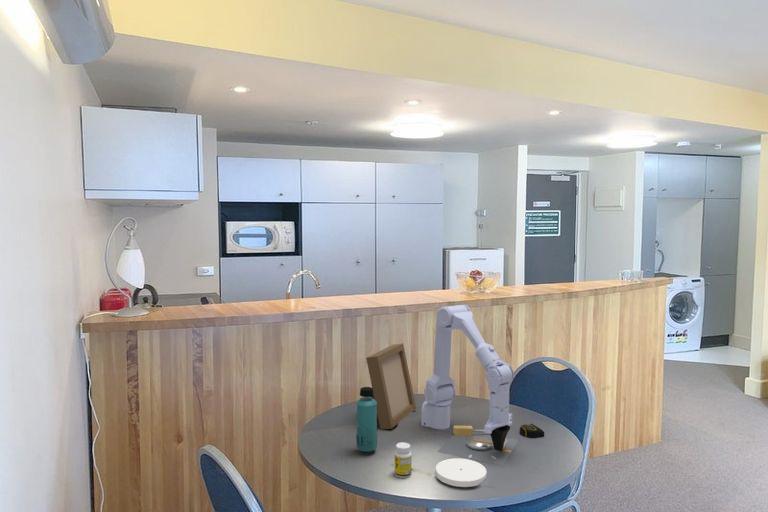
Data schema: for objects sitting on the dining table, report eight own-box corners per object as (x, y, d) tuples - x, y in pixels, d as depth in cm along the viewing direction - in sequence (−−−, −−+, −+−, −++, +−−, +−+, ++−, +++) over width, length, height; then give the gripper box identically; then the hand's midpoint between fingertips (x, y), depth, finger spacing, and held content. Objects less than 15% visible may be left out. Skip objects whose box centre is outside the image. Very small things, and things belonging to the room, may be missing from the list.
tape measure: (545, 441, 174) (545, 429, 174) (526, 443, 172) (527, 431, 172) (533, 433, 181) (533, 422, 180) (515, 435, 179) (515, 424, 178)
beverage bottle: (380, 449, 166) (380, 385, 165) (372, 458, 160) (373, 392, 159) (360, 446, 168) (360, 383, 167) (352, 454, 162) (352, 389, 161)
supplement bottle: (393, 470, 152) (393, 441, 152) (410, 470, 153) (410, 441, 152) (395, 478, 147) (395, 449, 147) (412, 478, 148) (412, 448, 147)
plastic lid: (438, 464, 157) (438, 456, 157) (487, 469, 154) (487, 461, 154) (432, 487, 143) (432, 478, 143) (485, 493, 140) (485, 484, 140)
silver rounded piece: (463, 447, 165) (463, 435, 164) (469, 438, 172) (469, 426, 172) (503, 454, 160) (503, 441, 160) (508, 444, 167) (508, 432, 167)
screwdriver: (454, 435, 175) (454, 428, 174) (453, 432, 177) (453, 425, 177) (491, 436, 174) (491, 429, 174) (490, 433, 177) (490, 426, 176)
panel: (437, 455, 162) (437, 450, 162) (458, 432, 180) (458, 428, 180) (502, 469, 153) (502, 464, 153) (518, 444, 171) (518, 439, 171)
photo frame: (416, 411, 200) (417, 344, 199) (391, 431, 181) (392, 358, 179) (380, 405, 207) (381, 340, 205) (353, 423, 187) (353, 353, 186)
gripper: (500, 414, 152) (499, 461, 153) (522, 401, 163) (521, 445, 164) (478, 409, 157) (477, 454, 157) (500, 396, 168) (499, 439, 169)
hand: (498, 449), depth 161 cm, fingers closed
